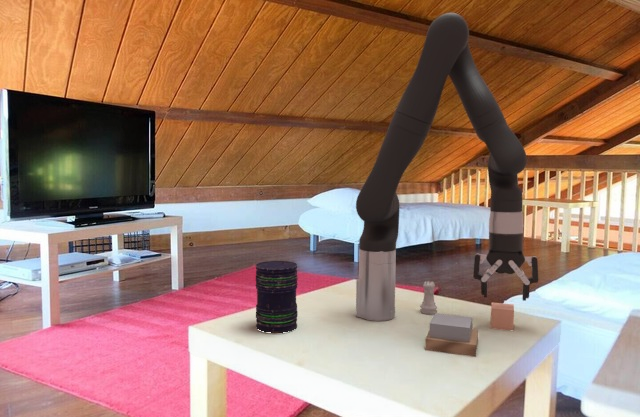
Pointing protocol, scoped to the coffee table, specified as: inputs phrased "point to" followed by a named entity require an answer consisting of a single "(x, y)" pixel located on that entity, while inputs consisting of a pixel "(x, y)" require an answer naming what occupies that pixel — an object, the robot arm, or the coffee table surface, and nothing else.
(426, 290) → the rook chess piece
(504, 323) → the terracotta cube
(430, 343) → the walnut base slab
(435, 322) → the slate top block
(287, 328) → the storage jar
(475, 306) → the coffee table surface
